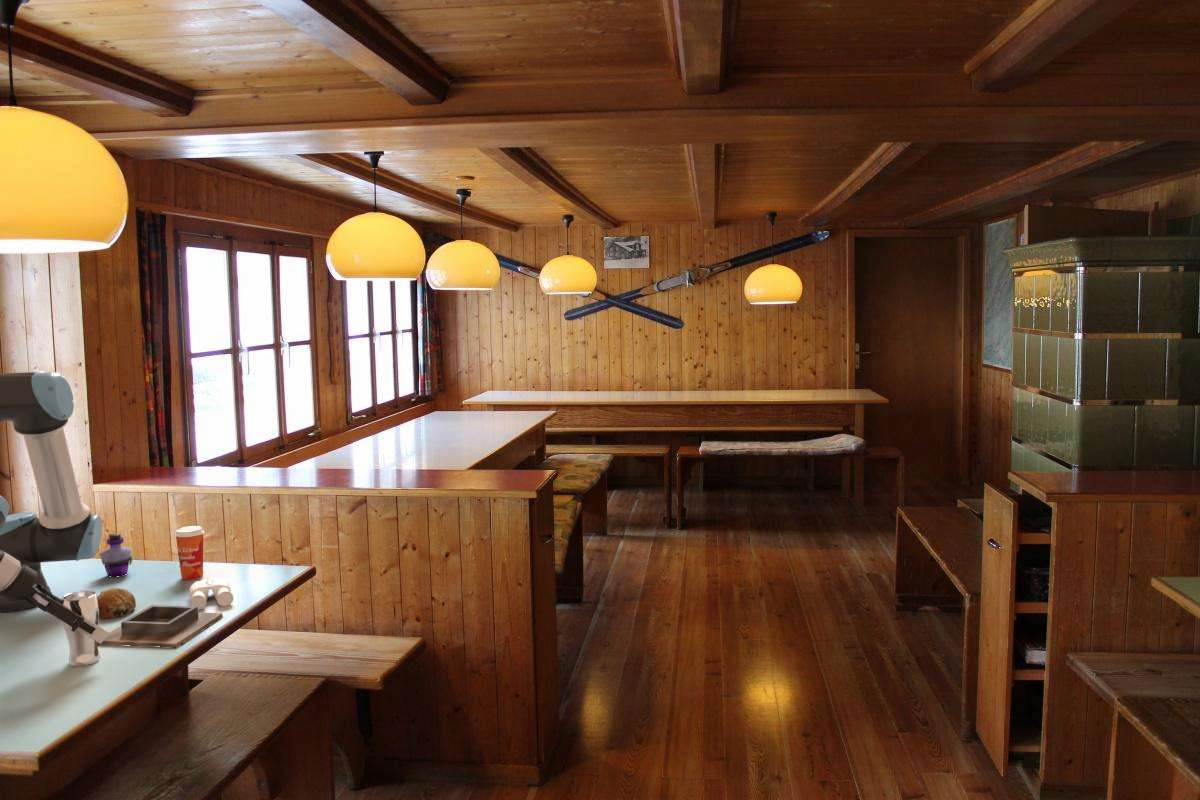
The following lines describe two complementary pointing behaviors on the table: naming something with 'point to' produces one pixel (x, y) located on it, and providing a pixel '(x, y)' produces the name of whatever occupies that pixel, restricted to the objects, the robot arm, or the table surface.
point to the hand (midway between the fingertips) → (98, 631)
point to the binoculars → (202, 588)
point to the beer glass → (79, 643)
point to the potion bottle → (116, 556)
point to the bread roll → (115, 603)
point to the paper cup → (190, 551)
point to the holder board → (161, 626)
